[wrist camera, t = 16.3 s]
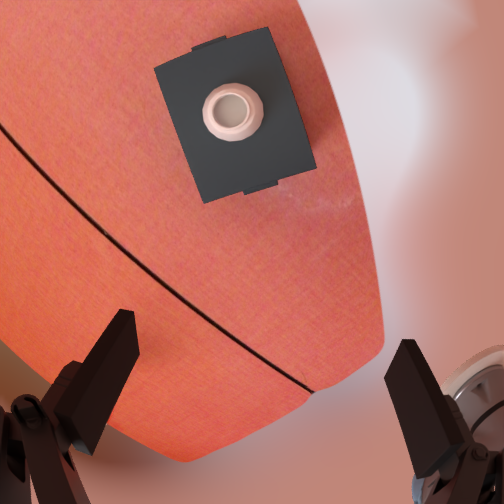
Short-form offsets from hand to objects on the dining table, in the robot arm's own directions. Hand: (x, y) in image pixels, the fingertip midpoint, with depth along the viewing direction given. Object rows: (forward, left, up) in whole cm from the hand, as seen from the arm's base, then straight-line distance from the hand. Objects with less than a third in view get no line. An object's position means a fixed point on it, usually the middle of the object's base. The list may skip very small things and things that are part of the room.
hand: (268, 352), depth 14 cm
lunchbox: (+4, -11, -23) cm, 26 cm away
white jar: (+4, -11, -16) cm, 20 cm away
